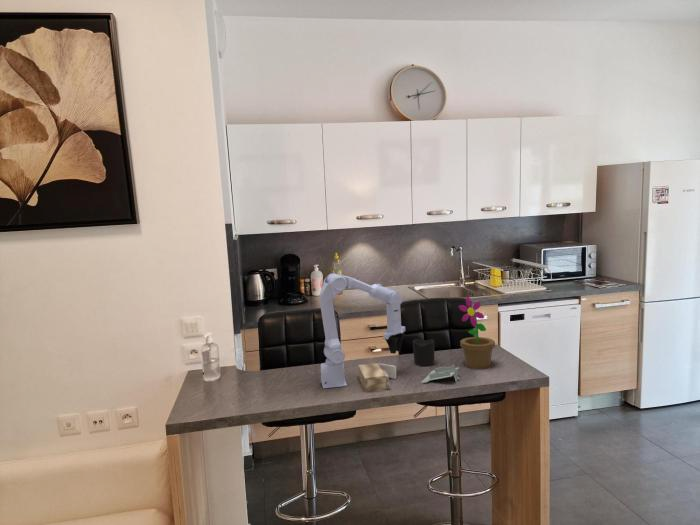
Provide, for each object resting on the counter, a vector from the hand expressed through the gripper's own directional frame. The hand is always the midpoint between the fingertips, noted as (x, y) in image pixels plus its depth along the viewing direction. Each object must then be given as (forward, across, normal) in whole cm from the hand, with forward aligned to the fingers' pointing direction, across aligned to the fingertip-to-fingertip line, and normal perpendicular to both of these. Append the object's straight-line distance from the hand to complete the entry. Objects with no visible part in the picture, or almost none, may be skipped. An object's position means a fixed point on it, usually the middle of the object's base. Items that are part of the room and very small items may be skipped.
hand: (395, 351), depth 200 cm
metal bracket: (+10, +4, -19) cm, 22 cm away
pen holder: (+10, +18, -4) cm, 20 cm away
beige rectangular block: (+9, -14, +3) cm, 17 cm away
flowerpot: (+10, +26, -25) cm, 37 cm away
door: (+9, -5, +1) cm, 11 cm away
